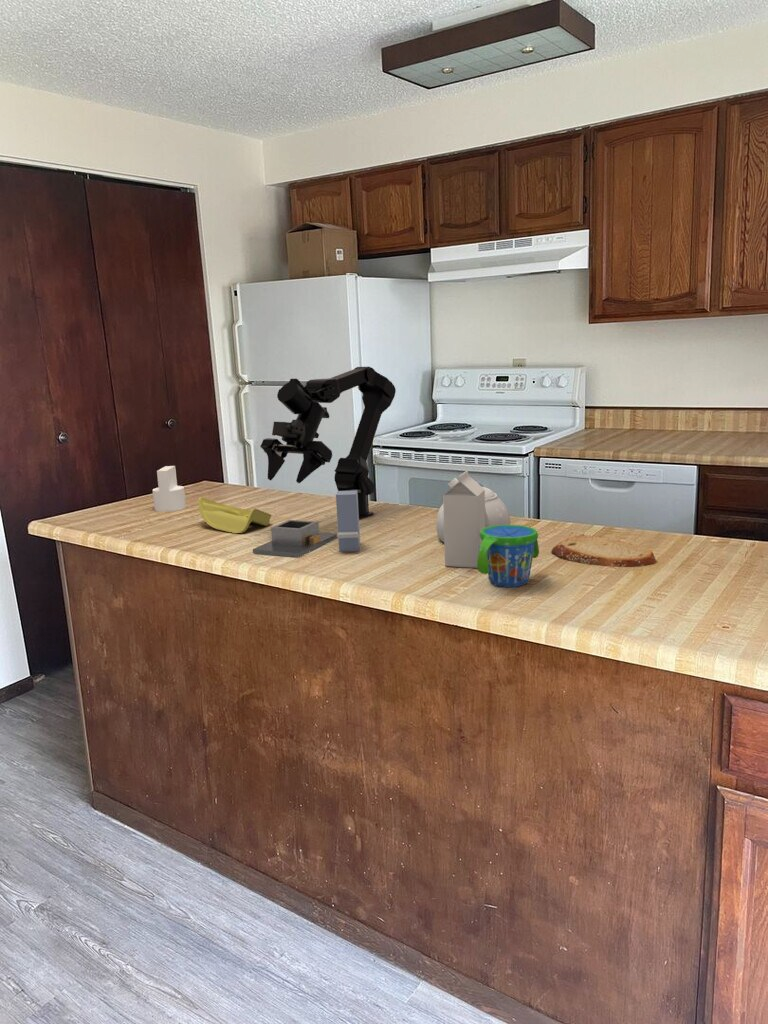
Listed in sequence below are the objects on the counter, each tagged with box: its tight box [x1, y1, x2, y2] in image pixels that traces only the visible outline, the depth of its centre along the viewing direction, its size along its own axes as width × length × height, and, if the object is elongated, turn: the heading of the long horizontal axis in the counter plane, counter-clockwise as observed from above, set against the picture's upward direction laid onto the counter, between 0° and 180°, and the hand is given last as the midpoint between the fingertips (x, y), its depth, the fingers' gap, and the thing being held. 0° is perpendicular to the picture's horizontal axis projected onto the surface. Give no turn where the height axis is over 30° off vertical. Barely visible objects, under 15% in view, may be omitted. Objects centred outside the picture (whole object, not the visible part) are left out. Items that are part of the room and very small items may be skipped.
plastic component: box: [197, 496, 272, 534], centre depth 204 cm, size 20×7×10 cm
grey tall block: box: [335, 490, 361, 552], centre depth 175 cm, size 9×4×13 cm, turn 178°
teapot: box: [435, 481, 511, 543], centre depth 179 cm, size 19×18×14 cm
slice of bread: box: [550, 533, 657, 568], centre depth 162 cm, size 18×18×4 cm
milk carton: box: [442, 469, 485, 569], centre depth 160 cm, size 7×7×19 cm
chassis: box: [252, 519, 338, 558], centre depth 181 cm, size 18×12×5 cm, turn 155°
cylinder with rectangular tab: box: [152, 465, 187, 513], centre depth 229 cm, size 9×9×12 cm
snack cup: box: [476, 524, 540, 588], centre depth 147 cm, size 16×10×10 cm
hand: (283, 481), depth 184 cm, fingers open, 9 cm apart
